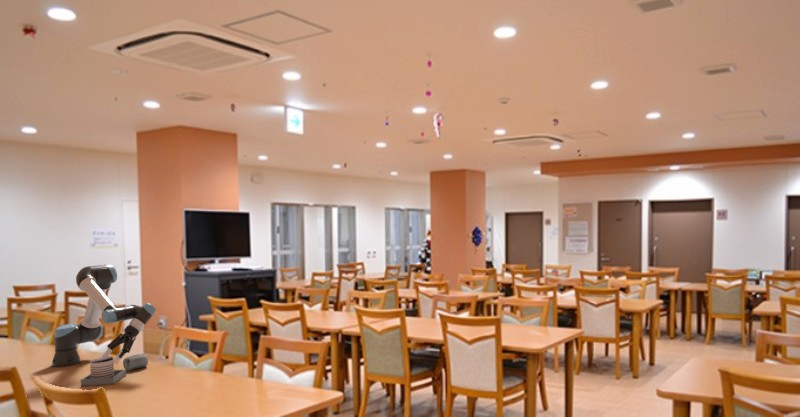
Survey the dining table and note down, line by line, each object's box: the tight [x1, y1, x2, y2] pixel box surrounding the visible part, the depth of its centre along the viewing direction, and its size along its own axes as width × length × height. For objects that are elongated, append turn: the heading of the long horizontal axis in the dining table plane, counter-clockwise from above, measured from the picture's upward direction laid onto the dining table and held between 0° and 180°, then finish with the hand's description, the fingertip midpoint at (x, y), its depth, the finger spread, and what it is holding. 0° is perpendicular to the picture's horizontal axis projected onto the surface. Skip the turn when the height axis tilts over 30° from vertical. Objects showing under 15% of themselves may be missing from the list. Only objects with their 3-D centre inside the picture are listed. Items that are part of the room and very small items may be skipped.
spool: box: [122, 353, 149, 372], centre depth 339 cm, size 14×10×10 cm
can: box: [89, 355, 115, 379], centre depth 315 cm, size 11×11×12 cm
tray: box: [80, 369, 127, 387], centre depth 316 cm, size 17×17×4 cm
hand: (108, 361), depth 317 cm, fingers open, 13 cm apart
